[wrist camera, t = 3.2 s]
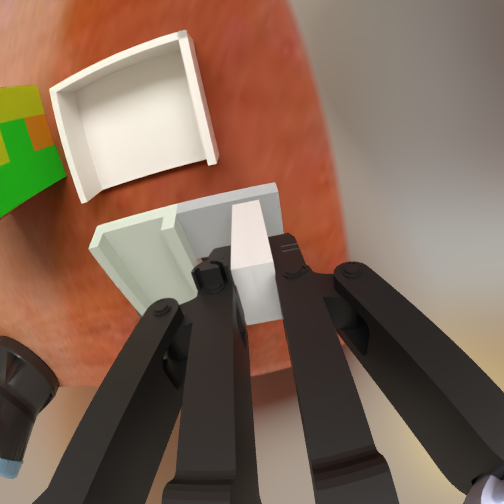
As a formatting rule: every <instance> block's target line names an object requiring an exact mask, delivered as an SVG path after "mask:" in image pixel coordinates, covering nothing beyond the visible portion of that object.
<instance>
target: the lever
mask: <svg viewBox="0 0 504 504" xmlns="http://www.w3.org/2000/svg"><path fill="white" fill-rule="evenodd" d="M254 200H259V202H260V206H261V210H262V215H263V219H264V223H265V228H266V232H267V236H268V237H270V236H275V235H280V234H284V232H283V224H282V216H281V209H280V201H279V194H278V190H277V187H276V184H275V182H274V183H269V184H264V185H259V186H254V187H249V188H244V189H239V190H234V191H230V192H225V193H221V194H216V195H212V196H207V197H203V198H199V199H195V200H190V201H186V202H182V203H178V204H174V205H170V206H166V207H163V208H159V209H155V210H151V211H147V212H144V213H140V214H136V215H133V216H129V217H126V218H122V219H119V220H115V221H112V222H109V223H105V224H102V225H99V226H97V228H96V231H95V233H94V236H93V238H92V241H91V243H90V246H89V251H90V252H91V253H92V255H93V256H94V257H95V259H96V260H97V261H98V263H99V264H100V265H101V267H102V268H103V269H104V271H105V272H106V273H107V275H108V276H109V277H110V278H111V280H112V281H113V282H114V283H115V285H116V286H117V287H118V288H119V290H120V291H121V292H122V293H123V294H124V296H125V297H126V298H127V299H128V300H129V302H130V303H131V304H132V305H133V306H134V307H135V309H136V310H137V311H138V312H139V313H140V314H141V315H142V316H143V315H144V313H145V311H146V310H147V308H148V307H149V306H150V305H151V304H153V303H154V302H156V301H157V300H160V299H163V298H174V299H175V300H177V301H178V303H179V305H180V304H182V303H185V302H188V301H190V300H192V299H194V298H195V297H197V292H198V291H197V288H196V285H195V283H194V280H193V277H192V275H191V271H192V270H193V268H194V267H195V266H197V265H198V264H200V263H202V259H201V258H204V257H209V254H210V253H211V252H212V251H213V249H214V248H219V247H224V246H229V245H231V232H232V205H235V204H240V203H245V202H249V201H254Z"/></svg>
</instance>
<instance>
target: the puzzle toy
mask: <svg viewBox="0 0 504 504" xmlns="http://www.w3.org/2000/svg"><path fill="white" fill-rule="evenodd" d="M66 176H67V175H66V173H65V170H64V168H63V165H62V162H61V160H60V157H59V154H58V152H57V149H56V146H55V143H54V140H53V137H52V134H51V131H50V128H49V125H48V122H47V119H46V116H45V112H44V109H43V105H42V102H41V98H40V94H39V90H38V86H37V85H27V86H12V87H1V88H0V219H2V218H3V217H5V216H6V215H7V214H9V213H10V212H12V211H13V210H14V209H16V208H17V207H19V206H20V205H21V204H23V203H24V202H26V201H27V200H29V199H30V198H32V197H33V196H35V195H36V194H38V193H40V192H41V191H43V190H44V189H46V188H47V187H49V186H51V185H52V184H54V183H56V182H57V181H59V180H61V179H62V178H64V177H66Z"/></svg>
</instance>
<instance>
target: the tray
mask: <svg viewBox="0 0 504 504" xmlns="http://www.w3.org/2000/svg"><path fill="white" fill-rule="evenodd" d="M49 90H50V95H51V100H52V105H53V110H54V114H55V118H56V123H57V127H58V131H59V134H60V138H61V142H62V145H63V149H64V152H65V156H66V159H67V162H68V166H69V169H70V172H71V175H72V178H73V181H74V184H75V187H76V190H77V192H78V195H79V198H80V201H81V203H82V204H83V203H85V202H88V201H89V200H90V199H91V198H93V197H94V196H95V195H97V194H98V193H99V192H101V191H102V190H104V189H107V188H110V187H113V186H116V185H119V184H122V183H125V182H128V181H131V180H134V179H137V178H140V177H144V176H147V175H150V174H154V173H157V172H160V171H164V170H167V169H171V168H175V167H178V166H182V165H186V164H190V163H194V162H198V161H202V160H206V159H207V163H208V166H209V165H213V164H217V161H218V158H219V152H218V147H217V143H216V139H215V135H214V130H213V126H212V122H211V117H210V113H209V109H208V104H207V100H206V96H205V91H204V87H203V83H202V78H201V74H200V69H199V65H198V61H197V56H196V52H195V47H194V43H193V40H192V38H191V37H190V35H189V34H188V32H187V31H186V30H183V31H179V32H176V33H172V34H169V35H166V36H163V37H160V38H157V39H154V40H151V41H148V42H145V43H143V44H140V45H137V46H135V47H132V48H130V49H127V50H125V51H122V52H120V53H117V54H115V55H113V56H111V57H108V58H106V59H104V60H102V61H100V62H98V63H96V64H93V65H91V66H89V67H87V68H86V69H84V70H82V71H80V72H78V73H76V74H74V75H72V76H71V77H69V78H67V79H65V80H64V81H62V82H60V83H58V84H57V85H55V86H53V87H52V88H50V89H49Z"/></svg>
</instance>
